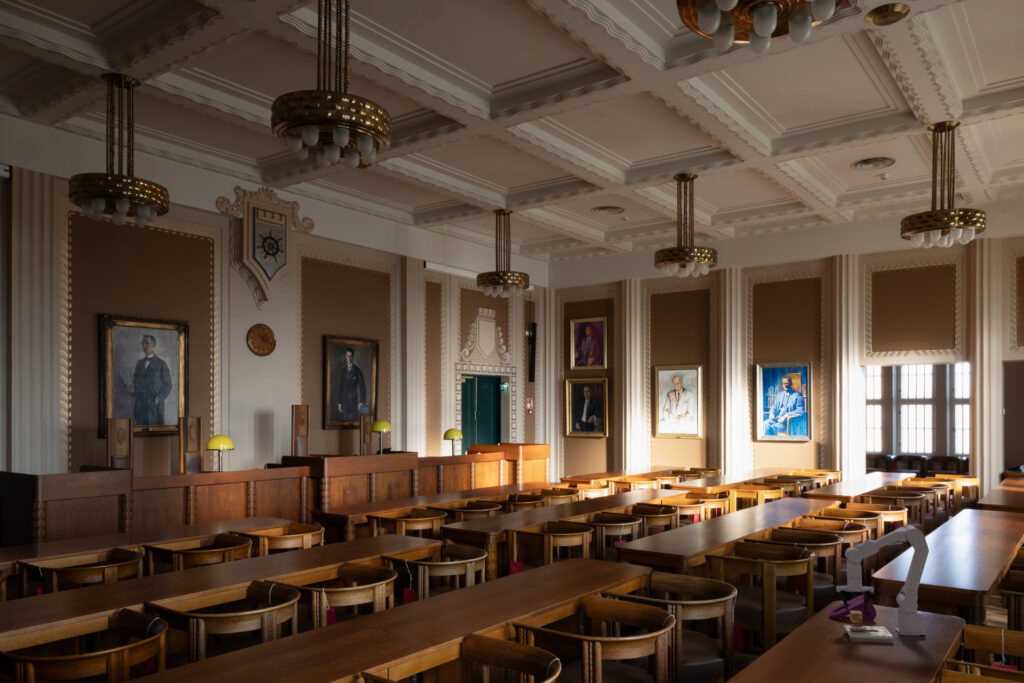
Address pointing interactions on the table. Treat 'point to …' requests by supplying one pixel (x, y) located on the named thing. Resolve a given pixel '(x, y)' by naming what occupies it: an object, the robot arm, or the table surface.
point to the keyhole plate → (868, 634)
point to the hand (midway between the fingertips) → (855, 609)
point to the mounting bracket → (854, 609)
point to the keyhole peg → (856, 617)
